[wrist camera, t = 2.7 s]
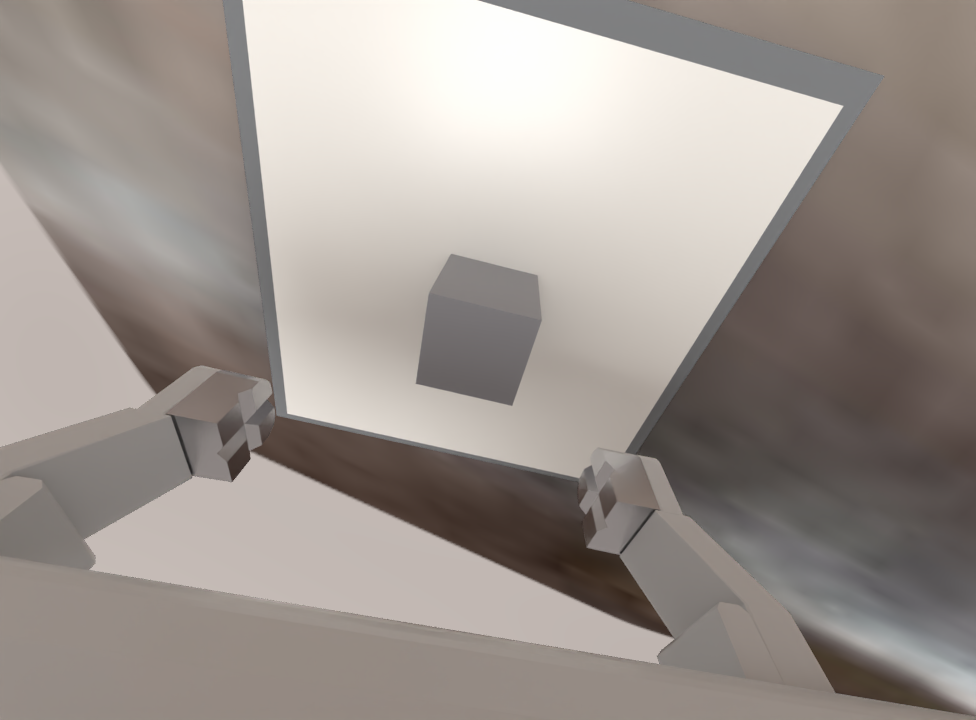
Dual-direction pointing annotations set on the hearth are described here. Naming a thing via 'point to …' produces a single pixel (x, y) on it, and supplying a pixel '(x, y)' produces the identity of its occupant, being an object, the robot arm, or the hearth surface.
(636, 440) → the charcoal mat
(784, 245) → the hearth surface
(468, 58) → the cover sheet
